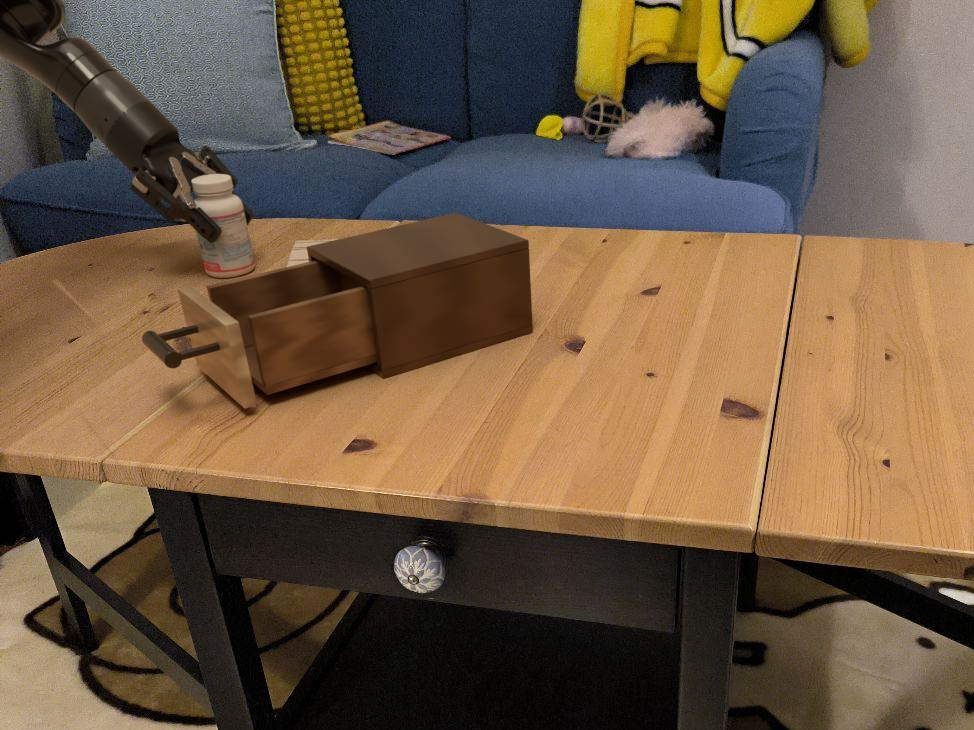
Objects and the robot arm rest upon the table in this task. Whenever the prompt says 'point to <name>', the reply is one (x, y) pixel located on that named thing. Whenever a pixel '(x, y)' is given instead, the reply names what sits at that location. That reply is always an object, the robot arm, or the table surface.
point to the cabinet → (436, 288)
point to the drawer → (273, 330)
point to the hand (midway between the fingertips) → (233, 229)
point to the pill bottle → (223, 227)
